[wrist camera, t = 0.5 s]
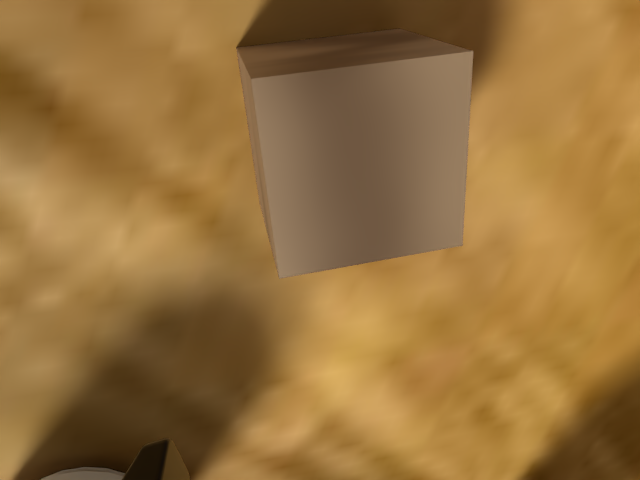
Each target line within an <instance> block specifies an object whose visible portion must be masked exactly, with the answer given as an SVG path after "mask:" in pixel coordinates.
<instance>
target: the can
mask: <svg viewBox="0 0 640 480" xmlns="http://www.w3.org/2000/svg"><path fill="white" fill-rule="evenodd" d="M125 474H126V473H122V472H119V471H115V470H112V469H108V468H96V467H81V468H74V469H68V470H62V471H59V472H57V473H54V474H52V475H49V476H46V477H44V478H42V479H40V480H122V478H123V477H124V475H125Z"/></svg>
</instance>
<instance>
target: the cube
mask: <svg viewBox="0 0 640 480" xmlns="http://www.w3.org/2000/svg"><path fill="white" fill-rule="evenodd" d="M236 49H237V56H238V62H239V69H240V76H241V82H242V89H243V96H244V102H245V109H246V116H247V122H248V129H249V135H250V142H251V149H252V155H253V162H254V169H255V175H256V182H257V189H258V195H259V202H260V206H261V210H262V214H263V218H264V222H265V225H266V229H267V233H268V237H269V241H270V245H271V248H272V252H273V256H274V260H275V264H276V268H277V272H278V275H279V279H280V278H286V277H291V276H297V275H302V274H308V273H313V272H319V271H324V270H330V269H336V268H341V267H347V266H352V265H358V264H363V263H369V262H374V261H380V260H385V259H391V258H397V257H402V256H408V255H413V254H419V253H424V252H430V251H435V250H441V249H446V248H452V247H458V246H463V228H464V210H465V192H466V174H467V156H468V138H469V120H470V102H471V84H472V66H473V51H471V50H468V49H465V48H461V47H458V46H455V45H452V44H448V43H445V42H442V41H439V40H435V39H432V38H429V37H426V36H422V35H419V34H416V33H413V32H409V31H406V30H403V29H391V30H383V31H374V32H365V33H357V34H348V35H340V36H331V37H322V38H314V39H305V40H297V41H288V42H279V43H271V44H262V45H254V46H245V47H236Z"/></svg>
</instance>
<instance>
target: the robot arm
mask: <svg viewBox="0 0 640 480" xmlns="http://www.w3.org/2000/svg"><path fill="white" fill-rule="evenodd" d="M122 480H190V477H189V473H188V470H187V468H186V466H185V464H184V462H183V460H182V458H181V456H180V454H179V452H178V450H177V448H176V446H175V444H174V442H173V441H172V440H171V439H170V438H164V439H161V440H157V441H154V442H150V443H147V444H145V445H144V446H143V447H142V448H141V449H140V451H139V453H138V454H137V456H136V457H135V459H134V461H133V462H132V464H131V465H130V467H129V469H128V470H127V472H126V474H125V475H124V477H123V478H122Z"/></svg>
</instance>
